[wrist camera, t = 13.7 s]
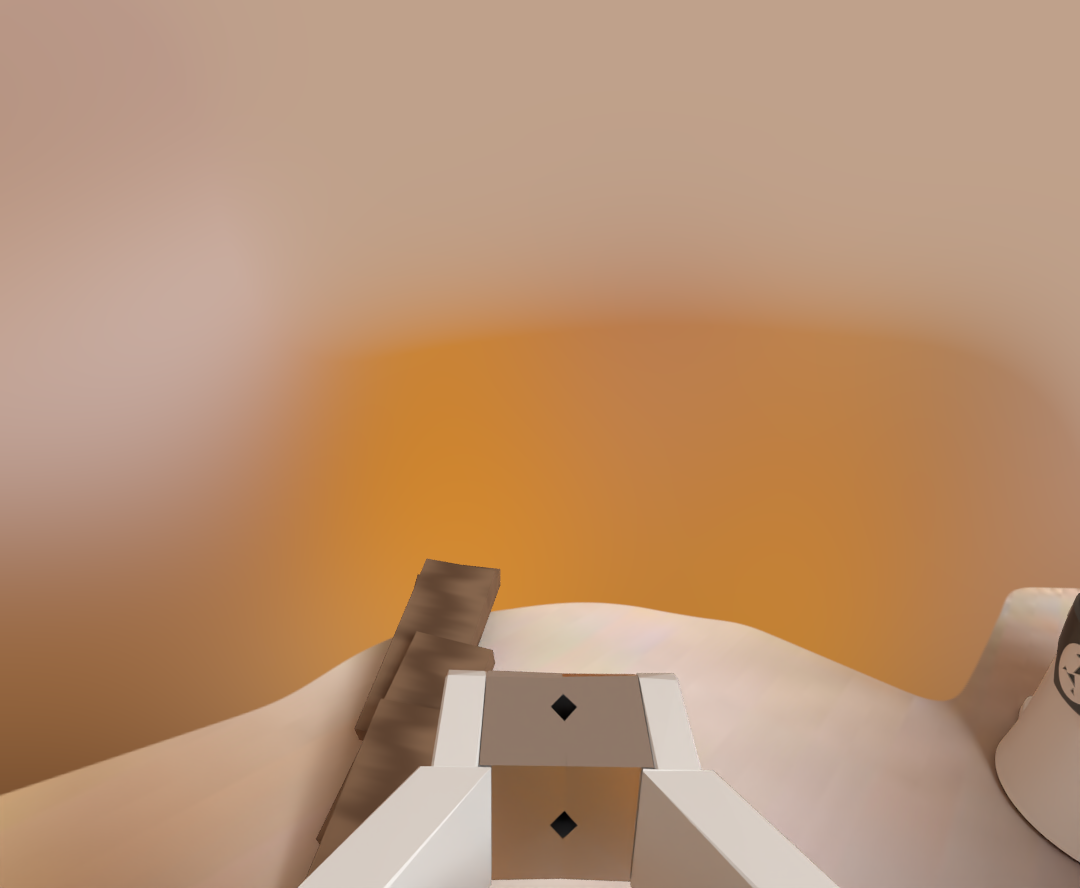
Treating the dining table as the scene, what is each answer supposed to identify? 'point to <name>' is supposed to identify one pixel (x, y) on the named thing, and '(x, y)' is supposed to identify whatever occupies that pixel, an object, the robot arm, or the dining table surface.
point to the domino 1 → (380, 767)
